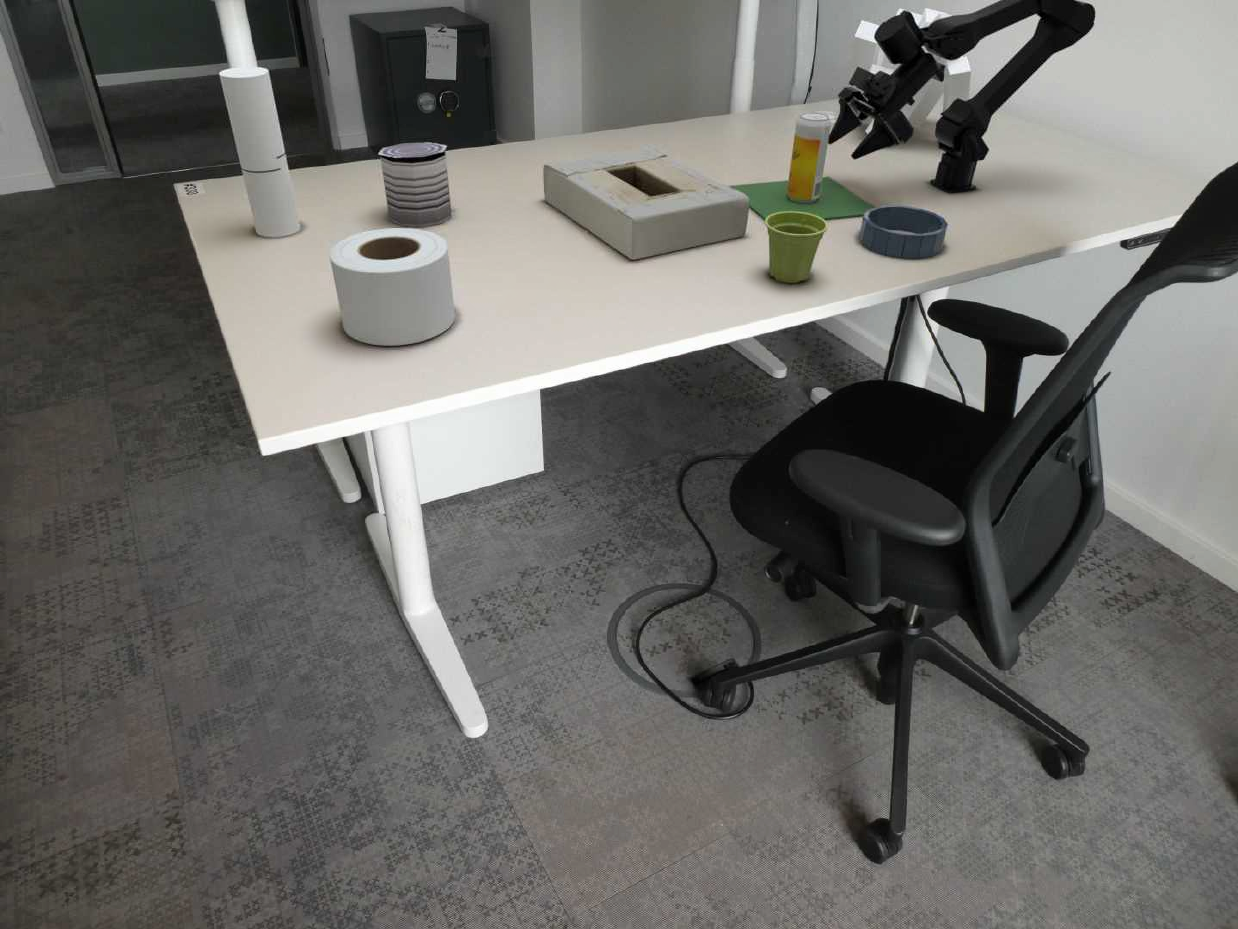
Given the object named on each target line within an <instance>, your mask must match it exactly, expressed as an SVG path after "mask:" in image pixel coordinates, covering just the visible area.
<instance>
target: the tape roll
mask: <svg viewBox="0 0 1238 929" xmlns="http://www.w3.org/2000/svg"><path fill="white" fill-rule="evenodd" d="M448 245H449V244H448V242H447V241H446V239H445V238H443V237H442V236H440V235H439V234H436V233H435V232H432V231H428V230H423V229H420V228H419V229H418V228H410V227H409V228H408V227H407V228H406V227H393V228H392V227H391V228H390V227H389V228H380V229H373V230H371V229H370V230H366V231H363V232H359V233H356V234H353V235H350V236H348V237H346V238H344V239H342V240H339V242H336V243H335V244H334V245H333V246H332V248H331V249H330V251H329V261H330V265H331V270H332V275H333V276H332V277H333V281H334V286H335V290H336V296H337V301H338V306H339V311H340V312H339V313H340V316H341V317H340V318H341V322H342V327H343V330H344V332H345V333H346V334H347V335H348V336H349V337H351V338H352V339H353V340H356V341H358V342H360V343H364V344H369V345H374V346H387V347H388V346H392V347H393V346H395V347H396V346H404V345H411V344H412V345H413V344H416V343H421V342H424V341H428V340H429V339H432V338H435V337H437V336H439V335H441V334H443V333H444V332H446V331H447V330H448V329H449V328H450V327H451V326H452V325H453V324H454V322H455V320H456V310H455V302H454V294H453V293H454V292H453V282H452V275H451V264H450V254H449V247H448ZM344 326H345V327H344ZM349 331H350V332H349Z"/></svg>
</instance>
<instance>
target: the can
mask: <svg viewBox="0 0 1238 929" xmlns="http://www.w3.org/2000/svg"><path fill="white" fill-rule="evenodd" d="M447 147H448V145H447V144H441V143H437V142H432V141H431V142H430V141H427V142H426V141H425V142H405V143H404V142H403V143H399V144H395V145H391V146H386V147H381V149H380V150H379V152H378V154H377V155H379V156H380V163H381V171H382V177H383V184H384V192H385V198H386V206H387V213H388V220H389V221H390V222H392V223H394V224H396V225H397V226H400V227H407V228H408V227H409V228H410V227H411V228H425V227H432V226H439V225H441V224H443V223H445V222H447V221H449V220H450V219H452V204H451V203H452V202H451V194H450V184H449V182H450V181H449V174H448V163H447V155H446V154H447V153H446V149H447Z"/></svg>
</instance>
